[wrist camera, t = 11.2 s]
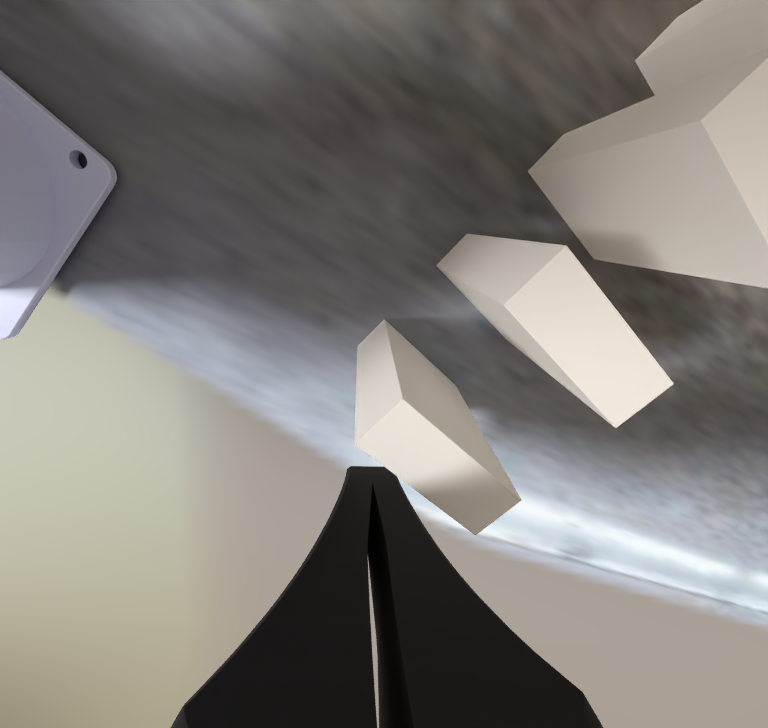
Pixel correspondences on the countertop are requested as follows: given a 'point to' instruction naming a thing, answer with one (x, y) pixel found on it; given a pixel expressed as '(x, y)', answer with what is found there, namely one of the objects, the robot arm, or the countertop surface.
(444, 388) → the domino
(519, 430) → the countertop surface
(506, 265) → the domino
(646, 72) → the domino
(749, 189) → the domino
